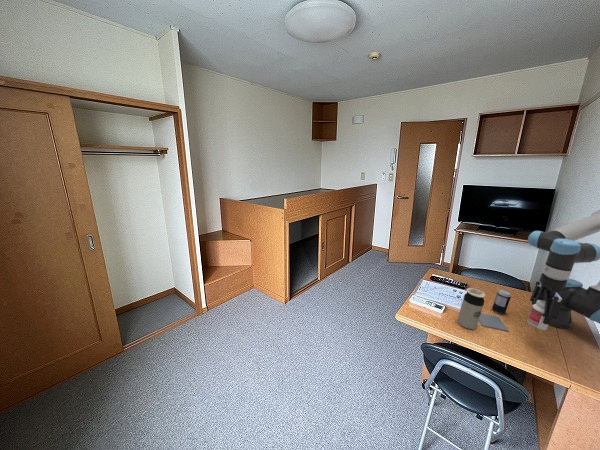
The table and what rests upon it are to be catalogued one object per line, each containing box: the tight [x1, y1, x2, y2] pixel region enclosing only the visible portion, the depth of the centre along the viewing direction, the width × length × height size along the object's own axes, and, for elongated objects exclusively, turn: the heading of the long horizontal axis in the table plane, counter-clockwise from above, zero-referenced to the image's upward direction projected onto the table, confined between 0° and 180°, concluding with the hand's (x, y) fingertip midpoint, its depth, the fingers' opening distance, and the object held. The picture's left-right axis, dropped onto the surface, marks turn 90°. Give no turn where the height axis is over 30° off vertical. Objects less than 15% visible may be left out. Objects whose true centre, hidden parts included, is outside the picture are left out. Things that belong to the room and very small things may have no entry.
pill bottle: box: [527, 300, 546, 328], centre depth 104 cm, size 6×6×11 cm
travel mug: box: [456, 287, 486, 330], centre depth 117 cm, size 8×8×18 cm
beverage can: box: [492, 289, 512, 315], centre depth 129 cm, size 6×6×12 cm
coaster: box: [478, 312, 510, 333], centre depth 122 cm, size 11×11×1 cm
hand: (536, 323), depth 106 cm, fingers closed on pill bottle, 6 cm apart
